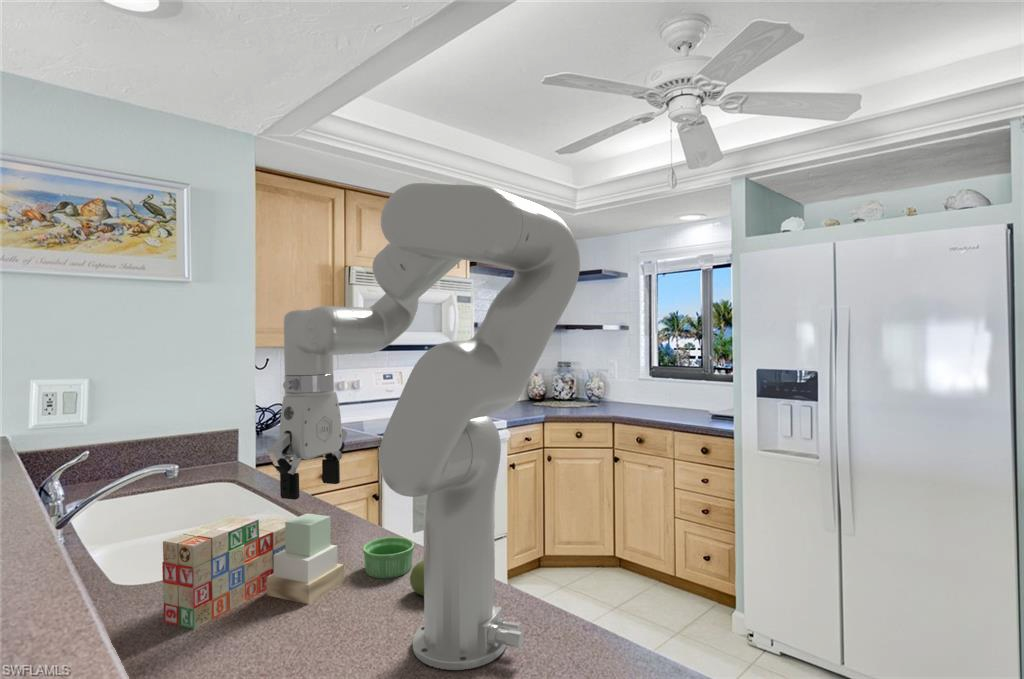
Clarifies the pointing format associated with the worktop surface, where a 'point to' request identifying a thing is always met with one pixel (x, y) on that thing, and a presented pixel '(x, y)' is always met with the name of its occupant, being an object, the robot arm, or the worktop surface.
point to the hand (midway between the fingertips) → (311, 490)
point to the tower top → (305, 565)
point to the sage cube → (307, 534)
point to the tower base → (305, 586)
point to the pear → (418, 578)
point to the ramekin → (388, 557)
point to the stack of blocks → (218, 567)
